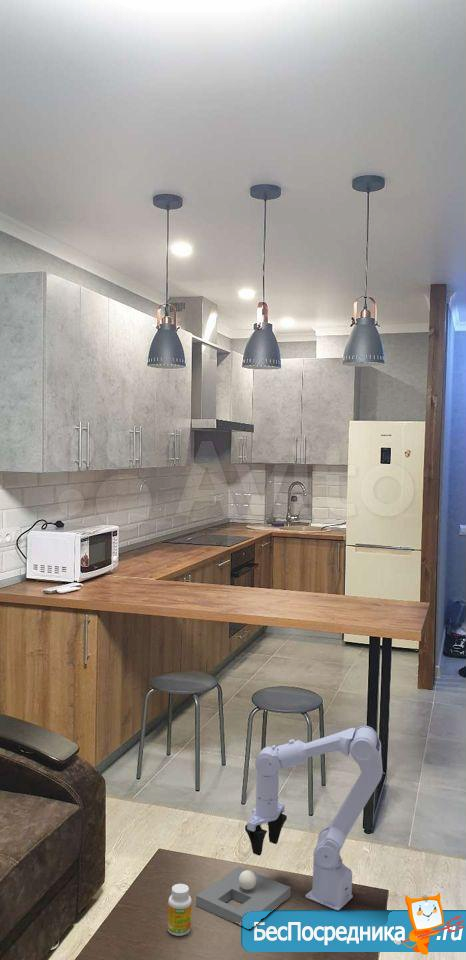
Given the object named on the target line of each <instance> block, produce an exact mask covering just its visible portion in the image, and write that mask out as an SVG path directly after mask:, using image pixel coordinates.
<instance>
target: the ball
mask: <svg viewBox="0 0 466 960" xmlns="http://www.w3.org/2000/svg"><path fill="white" fill-rule="evenodd" d="M253 872H254V871H252V870H250V871H249V869H247V870H246V871H243V872H242V873H241V874H240V876H239V884H240V886H241V887H242V888H243V889H245V890H251V889H252V888H254V886H255V884H256V876H255V874H254V873H253Z"/></svg>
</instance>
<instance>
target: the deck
mask: <svg viewBox="0 0 466 960" xmlns="http://www.w3.org/2000/svg"><path fill="white" fill-rule="evenodd" d="M246 870H249V869H247V868H245V867H242V866H237V867H236V868H234V869H233V870H231V871H230V872H228V873H227V874H225V875H224V876H223V877H221V878H220V879H218V880H216V881H214V883H212V884H210V886H208V887H207V888H204V890H202V891H201V892H199V893H198V894H196V896H195V906H196V907H198V908H201V909H202V910H205V911H206V912H209V913H210V914H213V915H215V916H217V915H218V917H219V916H220V917H219V918H221V917H223V918H222V919H224V918H225V919H224V920H226V919H227V920H226V921H228V920H230V921H232V922H238V923H240V922H241V921H242V918H243V915H244V914H245V913H247V912H251V911H266V910H272V909H274V908H275V907H277V906H279V905H280V904H281V903H283V902H284V901H285V902H286V901H288V900H289V899H291V887H290V886H289V885H286V884H283V883H282V882H279V881H277V880H274V879H271V878H270V877H267V876H264V875H261V874H259V873H256V872H254V871H252V872H253V873H254V874H255V876H256V884H255V886H254V888H252V889H251V890H245V889H243V888H242V887H241V886H240V884H239V876H240V874H241V873H242V872H243V871H246ZM249 871H251V870H249ZM233 899H234V900H233ZM230 900H233V901H236V902H238V901H239V902H238V903H240V902H241V903H240V904H242V903H244V904H242V905H240V906H238V907H235V906H233V905H231V904H229V903H228V902H230ZM226 902H227V903H226ZM285 902H284V903H285ZM284 903H283V904H284ZM281 905H282V904H281ZM281 905H280V906H281ZM280 906H279V907H280ZM230 921H229V922H230ZM232 922H231V923H232Z"/></svg>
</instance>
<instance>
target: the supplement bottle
mask: <svg viewBox="0 0 466 960" xmlns="http://www.w3.org/2000/svg"><path fill="white" fill-rule="evenodd" d="M167 904H168V905H167V931H168V933H169V934H171V935H173V936H175V937H177V936H178V937H179V936H181V937H182V936H185V935H187V934H189V933H190V931H191V927H192V897H191V896H190V889H189V886H188V885H187V884H184V883H177V884H176V883H175V884H174V885H172V886H171V894H170V895H169V897H168V902H167Z"/></svg>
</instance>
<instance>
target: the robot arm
mask: <svg viewBox="0 0 466 960" xmlns="http://www.w3.org/2000/svg"><path fill="white" fill-rule="evenodd" d="M334 752H339V753H341V754H343V755H344V756H346V757H349V755H351V757H352V759H353V760H354V761H355V763H357V764H358V767H359V769H360V772H361V773H360V774H359V775H358V778H357V779H356V781H355V783H354V785H353V786H352V787H351V790H350V791H349V792H348V794H347V796H346V797H345V799H344V801H343V803H342V805H341V806H340V808H339V810H338V811H337V813H336V815H335V816H334V818H333V819H332V820H331V821H330V822H329V824H328V826H326V827H325V828H323V829H322V830H321V831H320V832H319V833H318V836H317V837H318V838H317V841H316V846H315V848H314V851H313V864H312V865H313V867H312V887H311V888H312V889H311V890H310V891H308V893H306V894H305V898H306V899H308V900H311V901H314V902H315V903H319V904H321V905H323V906H325V907H328V908H330V909H333V910H334V911H340V910H341V909H342V908H343V907H344V906H345V905H346V904H348V902H349V901H351V899H353V896H354V895H353V894H352V893H353V892H352V890H353V872H352V869H351V868H349V867H347V866H346V865H345V864H344V863H343V858H342V857H341V850H342V848H343V846H344V843H345V841H346V840H347V837H348V835H349V833H350V832H351V829H352V828H354V827H353V826H354V825H355V823H356V822H357V820H358V818H359V816H360V815H361V813H362V812H363V810H364V808H365V807H366V805H367V803H368V802H369V800H370V798H371V796H372V795H373V793H374V792H375V790H376V788H377V786H378V785H379V784H380V781H381V780H382V777H383V772H384V771H383V758H382V742H381V740H380V738H379V735H378V733H377V732H376V730H375V729H374V728H373V727H371V726H370V725H369V726H368V725H361V726H358V727H357V728H356V727H351V728H350V727H349V728H346V729H344V730H342V731H340V732H336V733H333V734H330V735H328V736H324V737H321V738H318V739H315V740H311V741H309V742H303V741H302V740H300V739H297V740H295V739H294V738H293V739H289V741H288V742H286V743H284V744H281V745H276V744H274V745H271V746H265V747H264V748H262V749H261V750H260V752H259V753H258V755H257V757H256V759H255V762H254V765H255V769H256V782H255V783H256V786H255V790H256V791H255V807H254V808H252V810H251V812H252V813H253V814H252V816H251V818H250V819H249V820H248V821H247V822H246V823H247V824H245V826H244V830H245V832H246V834H247V835H248V838H249V841H250V845H251V849H252V854H253V855H256V856H261V855H262V853H263V846H264V840H265V837H266V835H267V833H268V840H269V842H270V843H271V844H275V845H277V844H278V842H279V839H280V836H281V831H282V828H283V827H284V824H285V823H286V821H287V815H286V814H284V813H285V807H286V805H285V804H284V803H281V802H279V784H280V779H279V770H285V769H289V768H292V767H296V766H299V765H304V764H306V763H307V761H308V759H309V758H310V757H314V756H319V755H324V754H329V753H334ZM265 823H267V826H268V827H267V828H268V831H267V830H266V829H263V828H262V826H261V825H263V824H265Z"/></svg>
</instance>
